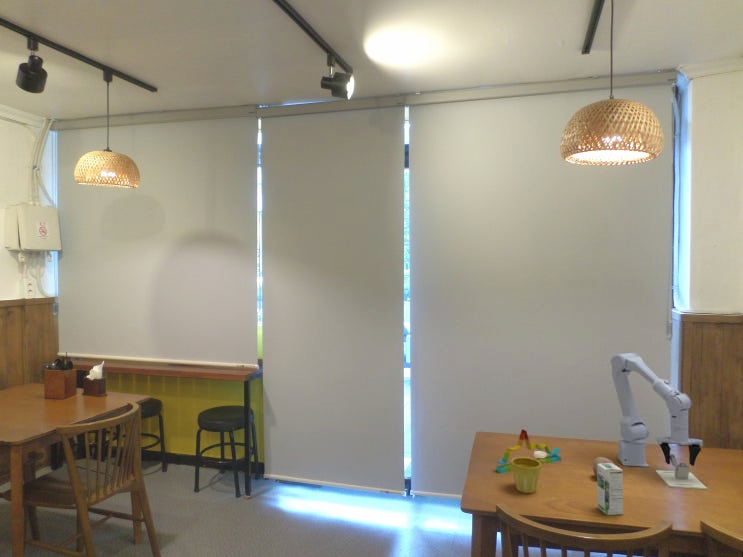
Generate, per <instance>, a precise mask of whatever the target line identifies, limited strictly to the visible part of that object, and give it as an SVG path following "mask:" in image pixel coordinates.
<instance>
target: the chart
mask: <svg viewBox="0 0 743 557" xmlns="http://www.w3.org/2000/svg"><path fill="white" fill-rule="evenodd" d="M524 442H525V446H526V449H527V450H529V451H531V452H532V451H533V450H534V449H535V448H536V449H537V450H540V451H543V450H545V452H546V454H550V455H547V456H546V457H545V456H544V457H545V458H540V457H536V458H534V459H535V460H537V461H539V462H540V463H541V466H543V465H546V464H550V463H556V462H560V461H562V457H561V456H560V455H558V454H559V453H560V452H561V450H562V449H560V448H557V447H555V448H554V449H553V450H552V451H551V450H550V449H549V447H548V445H547V444H544V443H543V442H542V443H540V444H537V443H535V442H533V441H531V442H530V439H529V435H528V431H527V430H525V429H521V431H520V434H519V438H518V442H517V444H515V445H514V446H513V447H506V450H505V452H504V454H503V457H502V459H501V460H496V462H497V463H498V464H500V465H497V466H496V468H495V469H496V472H497V473H500V474H503V473H509V472H512V471H511V463H508V460H509V458H510V455H511V452H512V451H514V452H515V451H519V450H520V449H522V447H523V444H524Z"/></svg>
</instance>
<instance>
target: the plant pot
mask: <svg viewBox="0 0 743 557" xmlns="http://www.w3.org/2000/svg"><path fill="white" fill-rule="evenodd" d="M510 464H511V471H510V472H511V473H513V479H514V483H515V488H516V490H517V491H519V492H520V493H524V494H525V493H526V494H532V493H535V492H536V490H537V484H538V481H539V477H540V475H541V473H542V465H541V463H540V462H539V461H537V460H535V458H531V457H528V456H527V457H526V456H518V457H514V458H512V459H511V460H510Z"/></svg>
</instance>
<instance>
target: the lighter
mask: <svg viewBox="0 0 743 557" xmlns="http://www.w3.org/2000/svg"><path fill="white" fill-rule="evenodd" d="M670 464H671V466H672V467H674V468H675V470H674V471H675V475H674V476H675V477H676V478H683V479H688V475H689V472H690V466H687V463H685V462H679V464H678V460H677V458H676V455H675V454H672V453H671V454H670Z"/></svg>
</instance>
